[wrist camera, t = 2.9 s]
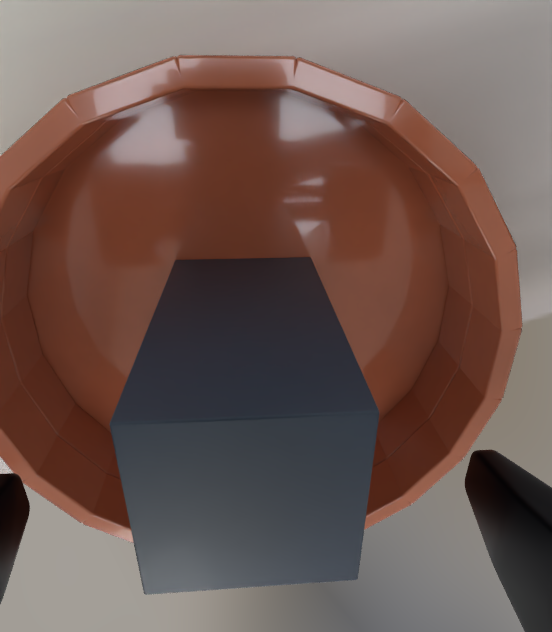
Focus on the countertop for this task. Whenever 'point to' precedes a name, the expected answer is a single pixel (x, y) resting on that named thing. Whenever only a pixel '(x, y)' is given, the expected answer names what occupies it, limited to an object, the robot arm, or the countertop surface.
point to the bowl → (246, 242)
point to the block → (245, 432)
